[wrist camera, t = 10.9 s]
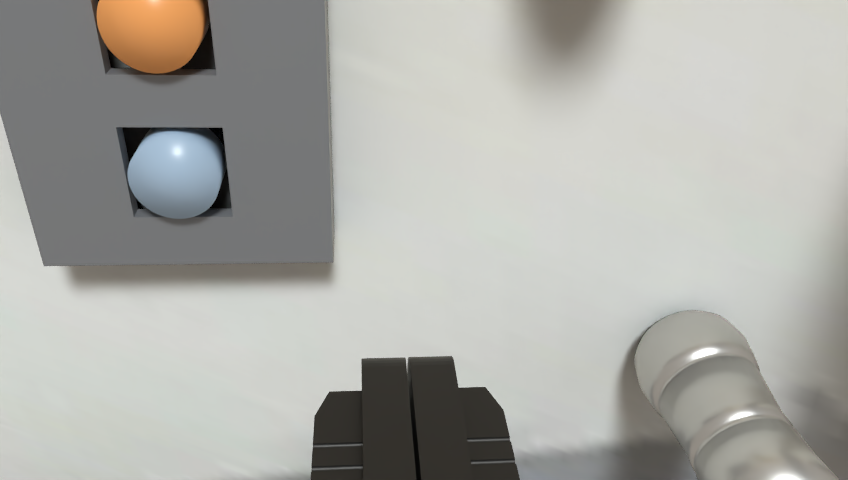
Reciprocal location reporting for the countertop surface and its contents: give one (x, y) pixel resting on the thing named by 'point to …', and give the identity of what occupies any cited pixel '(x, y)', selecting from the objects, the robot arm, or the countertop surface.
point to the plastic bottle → (720, 402)
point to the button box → (172, 107)
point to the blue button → (177, 171)
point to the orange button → (153, 31)
